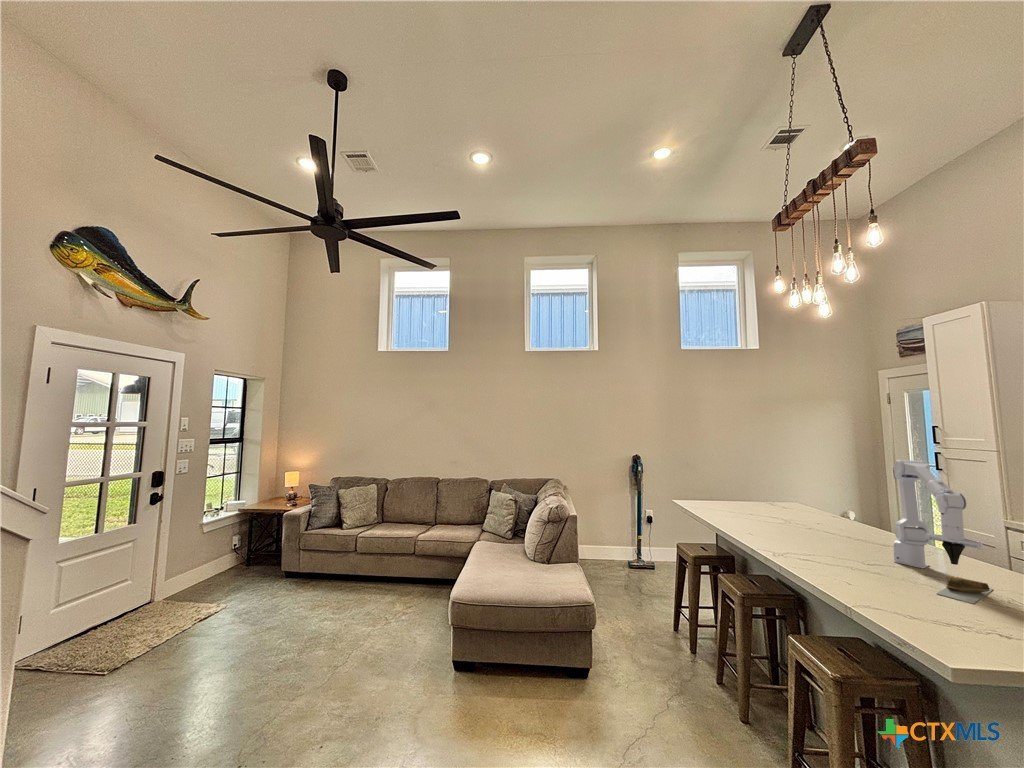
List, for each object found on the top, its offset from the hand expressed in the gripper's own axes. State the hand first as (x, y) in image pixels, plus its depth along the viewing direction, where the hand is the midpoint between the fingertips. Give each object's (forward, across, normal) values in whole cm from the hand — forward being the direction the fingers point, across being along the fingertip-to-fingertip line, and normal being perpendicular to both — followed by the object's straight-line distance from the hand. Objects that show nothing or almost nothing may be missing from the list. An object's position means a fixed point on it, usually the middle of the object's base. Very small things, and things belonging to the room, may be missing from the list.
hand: (954, 563), depth 155 cm
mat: (+8, +3, -3) cm, 9 cm away
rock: (+6, -2, -2) cm, 7 cm away
